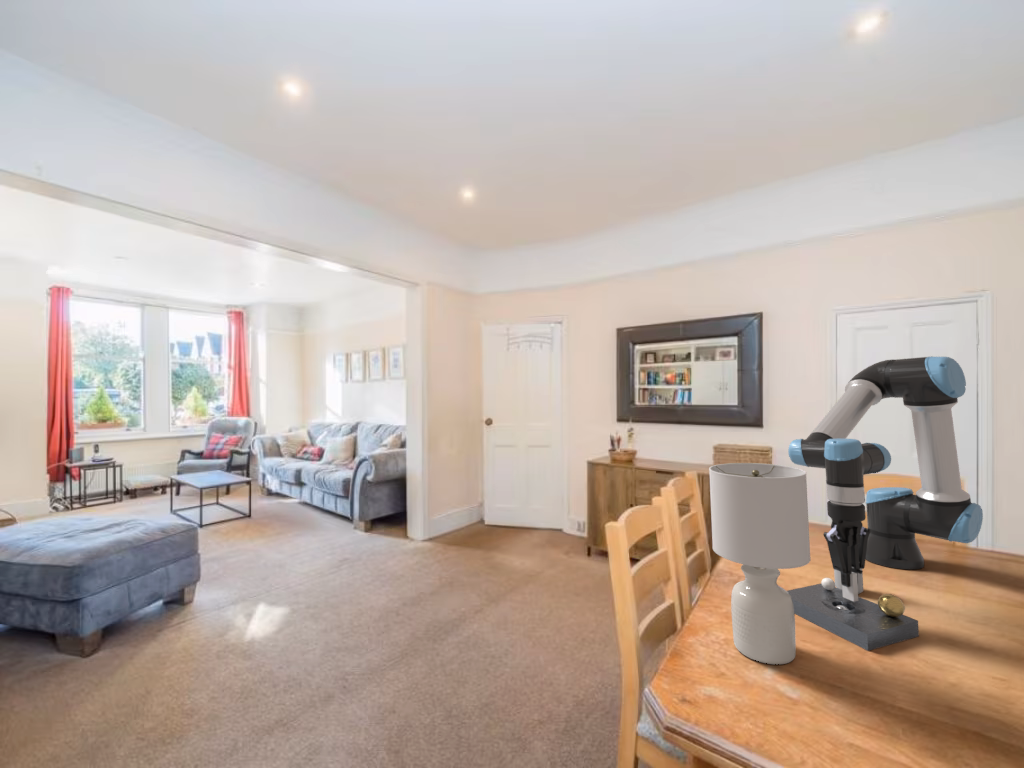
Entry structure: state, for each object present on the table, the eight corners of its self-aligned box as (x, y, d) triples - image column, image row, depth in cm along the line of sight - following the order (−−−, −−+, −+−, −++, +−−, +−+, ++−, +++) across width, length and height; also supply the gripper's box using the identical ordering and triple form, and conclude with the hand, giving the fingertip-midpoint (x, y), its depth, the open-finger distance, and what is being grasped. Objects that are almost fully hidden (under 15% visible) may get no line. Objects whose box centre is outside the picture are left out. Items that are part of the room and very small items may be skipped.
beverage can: (868, 596, 122) (866, 551, 122) (841, 594, 123) (839, 550, 123) (855, 586, 128) (853, 543, 128) (830, 584, 129) (828, 542, 129)
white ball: (827, 586, 120) (826, 575, 120) (838, 591, 117) (837, 579, 118) (818, 588, 119) (818, 576, 119) (829, 592, 117) (829, 581, 117)
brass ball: (887, 609, 107) (886, 589, 107) (910, 618, 103) (909, 597, 103) (873, 613, 106) (872, 592, 106) (895, 622, 101) (894, 601, 101)
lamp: (703, 628, 108) (696, 464, 109) (783, 627, 108) (775, 461, 108) (740, 677, 89) (731, 479, 90) (837, 676, 89) (827, 476, 90)
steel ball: (827, 612, 111) (836, 620, 111) (841, 618, 107) (850, 626, 108) (834, 599, 111) (842, 607, 112) (848, 606, 108) (857, 614, 109)
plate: (824, 595, 123) (824, 582, 123) (918, 636, 102) (918, 620, 102) (779, 605, 118) (778, 592, 118) (868, 650, 97) (867, 634, 97)
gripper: (849, 496, 117) (854, 588, 116) (811, 501, 113) (816, 596, 112) (880, 502, 109) (885, 600, 109) (841, 508, 106) (846, 610, 105)
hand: (850, 598), depth 111 cm, fingers closed
